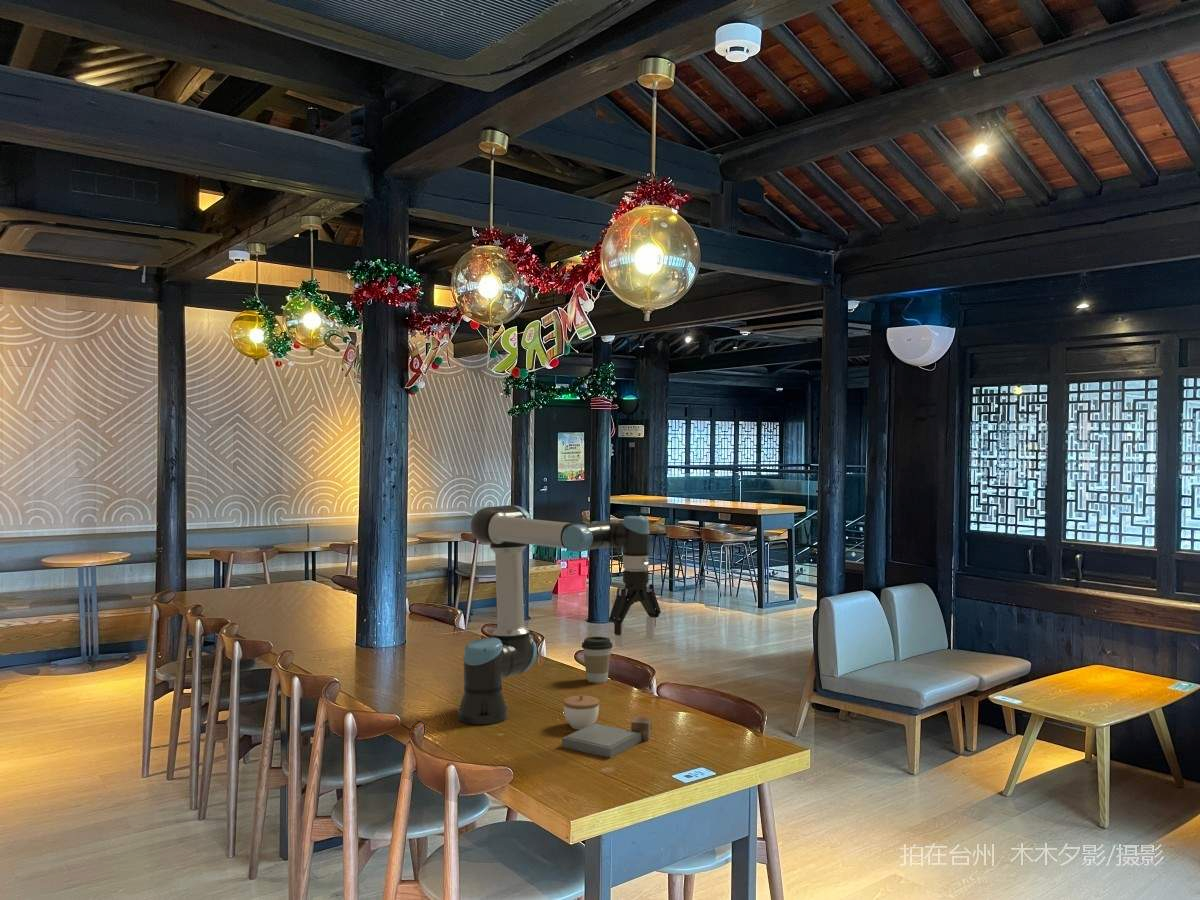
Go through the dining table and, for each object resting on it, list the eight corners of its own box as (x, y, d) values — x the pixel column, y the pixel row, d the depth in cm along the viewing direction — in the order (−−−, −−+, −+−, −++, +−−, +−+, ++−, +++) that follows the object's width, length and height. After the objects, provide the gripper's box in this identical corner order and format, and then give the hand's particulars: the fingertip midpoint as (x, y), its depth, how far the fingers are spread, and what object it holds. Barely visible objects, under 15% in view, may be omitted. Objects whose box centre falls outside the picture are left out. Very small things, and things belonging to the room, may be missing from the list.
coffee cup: (614, 677, 308) (614, 636, 308) (611, 685, 297) (611, 642, 297) (583, 676, 309) (583, 635, 309) (579, 684, 298) (579, 642, 298)
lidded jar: (567, 733, 244) (568, 701, 244) (559, 722, 255) (559, 691, 255) (603, 730, 247) (603, 698, 247) (594, 719, 257) (594, 688, 258)
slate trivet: (562, 746, 233) (562, 737, 233) (594, 731, 246) (594, 722, 246) (610, 758, 224) (610, 748, 224) (641, 741, 237) (641, 732, 237)
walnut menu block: (631, 739, 239) (631, 722, 239) (635, 734, 244) (635, 716, 244) (648, 741, 238) (648, 723, 238) (651, 735, 243) (651, 718, 243)
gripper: (616, 574, 233) (615, 651, 233) (672, 567, 251) (672, 638, 251) (596, 572, 238) (596, 647, 238) (653, 564, 256) (652, 634, 256)
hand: (635, 642), depth 244 cm, fingers open, 13 cm apart
